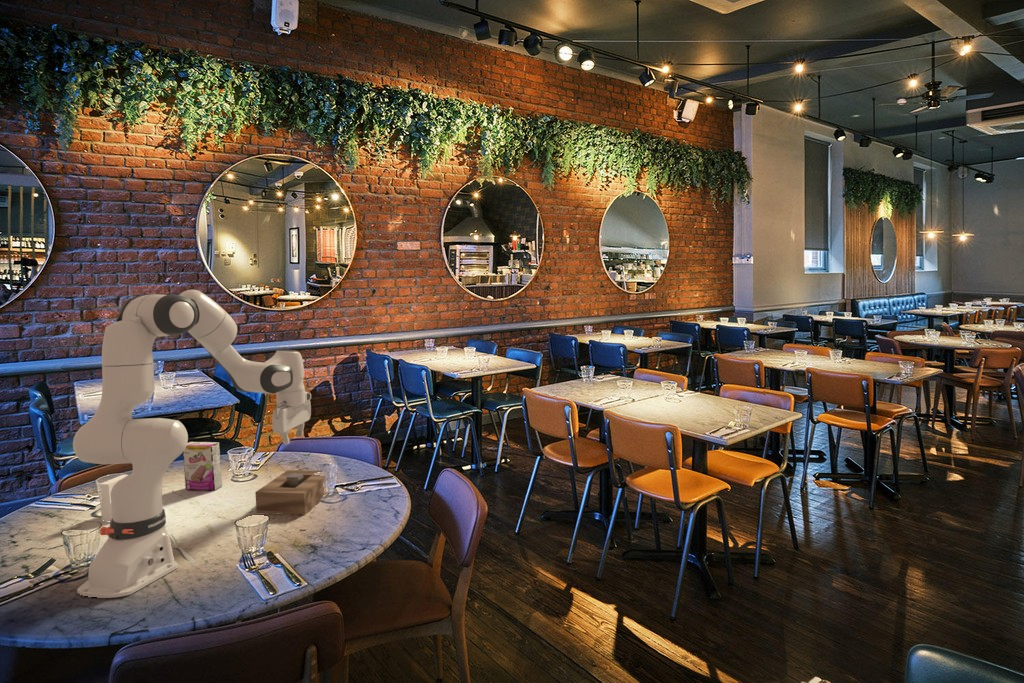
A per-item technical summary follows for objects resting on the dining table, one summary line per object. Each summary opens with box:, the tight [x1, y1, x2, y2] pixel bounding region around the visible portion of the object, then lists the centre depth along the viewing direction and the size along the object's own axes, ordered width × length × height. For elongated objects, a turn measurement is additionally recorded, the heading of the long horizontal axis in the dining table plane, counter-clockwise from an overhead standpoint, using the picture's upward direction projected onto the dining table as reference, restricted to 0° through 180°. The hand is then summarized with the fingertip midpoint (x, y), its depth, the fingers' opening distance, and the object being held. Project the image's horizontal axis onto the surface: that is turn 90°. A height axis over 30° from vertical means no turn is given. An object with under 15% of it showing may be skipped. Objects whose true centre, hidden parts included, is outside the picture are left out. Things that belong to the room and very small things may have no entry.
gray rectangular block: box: [286, 473, 304, 488], centre depth 205 cm, size 4×4×8 cm
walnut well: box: [255, 469, 325, 515], centre depth 205 cm, size 22×16×7 cm
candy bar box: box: [182, 441, 223, 492], centre depth 219 cm, size 11×5×16 cm, turn 84°
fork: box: [169, 534, 197, 564], centre depth 169 cm, size 3×24×2 cm, turn 46°
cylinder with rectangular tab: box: [99, 474, 129, 522], centre depth 195 cm, size 9×9×12 cm
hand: (293, 440), depth 203 cm, fingers open, 8 cm apart
